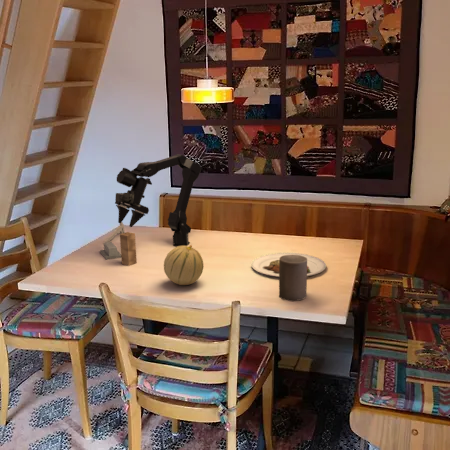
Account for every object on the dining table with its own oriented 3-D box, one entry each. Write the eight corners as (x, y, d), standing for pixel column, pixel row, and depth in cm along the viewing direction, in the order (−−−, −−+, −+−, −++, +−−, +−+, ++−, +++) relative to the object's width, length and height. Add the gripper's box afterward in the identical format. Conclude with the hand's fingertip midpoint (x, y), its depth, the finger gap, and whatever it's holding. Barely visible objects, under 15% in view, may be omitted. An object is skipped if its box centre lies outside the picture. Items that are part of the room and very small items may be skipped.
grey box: (100, 252, 244) (99, 242, 243) (115, 250, 247) (114, 240, 246) (106, 259, 234) (105, 249, 233) (122, 257, 237) (121, 247, 235)
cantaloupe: (160, 280, 208) (158, 242, 204) (196, 274, 213) (195, 238, 209) (171, 293, 194) (169, 253, 191) (209, 287, 200) (208, 248, 196)
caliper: (122, 233, 276) (121, 221, 275) (124, 233, 276) (123, 221, 274) (102, 244, 257) (101, 231, 255) (105, 245, 257) (104, 231, 255)
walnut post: (129, 261, 231) (127, 231, 228) (136, 263, 229) (134, 233, 225) (121, 263, 228) (119, 234, 225) (129, 265, 225) (127, 235, 222)
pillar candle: (275, 299, 187) (275, 257, 184) (283, 289, 196) (283, 249, 193) (303, 302, 184) (304, 260, 180) (309, 292, 193) (310, 252, 189)
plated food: (267, 253, 239) (267, 246, 238) (334, 262, 226) (334, 254, 225) (239, 274, 213) (239, 266, 212) (313, 285, 200) (313, 277, 199)
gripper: (111, 181, 234) (98, 215, 233) (134, 187, 221) (120, 223, 220) (131, 190, 242) (119, 223, 241) (155, 196, 228) (142, 231, 227)
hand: (124, 224), depth 232 cm, fingers open, 9 cm apart
